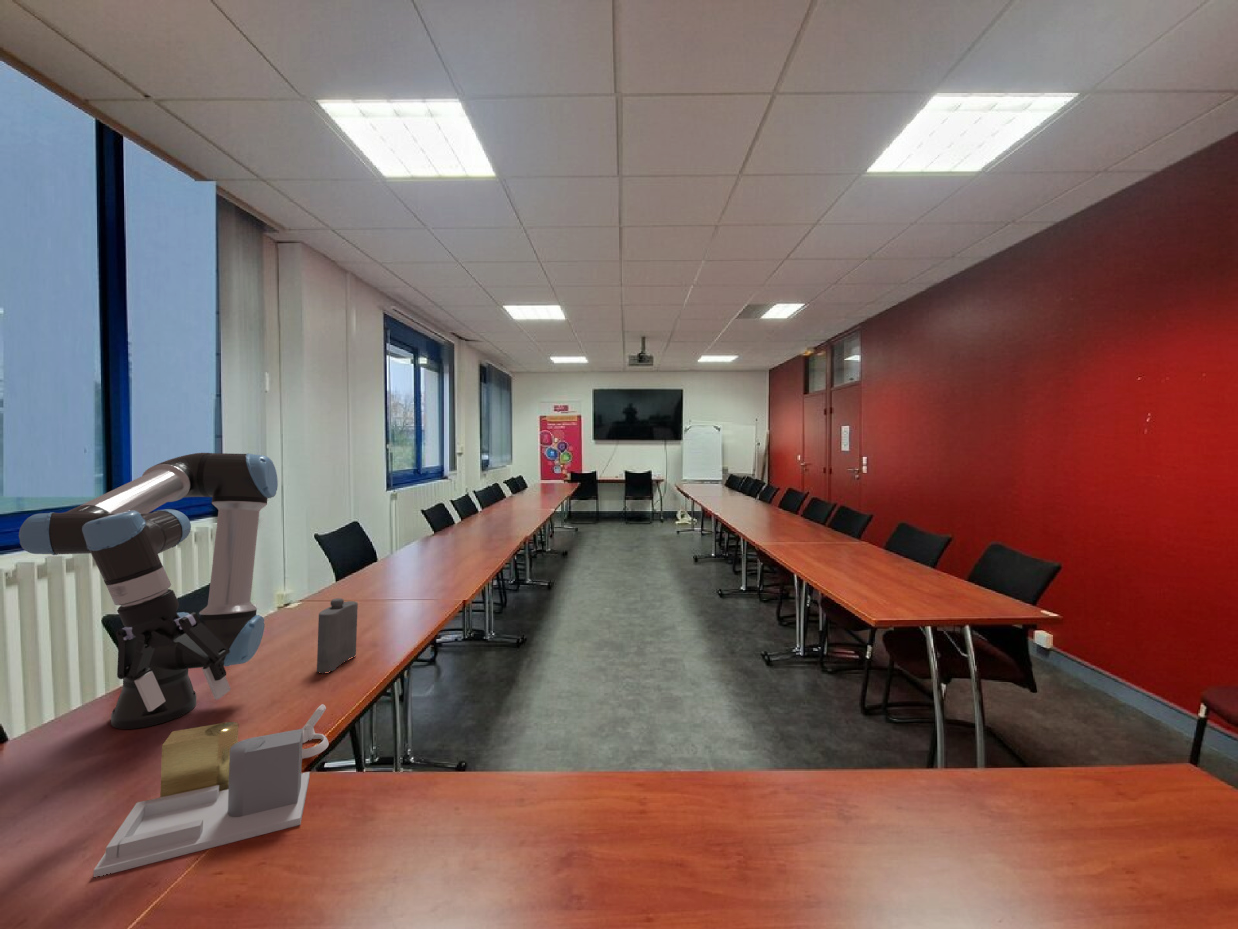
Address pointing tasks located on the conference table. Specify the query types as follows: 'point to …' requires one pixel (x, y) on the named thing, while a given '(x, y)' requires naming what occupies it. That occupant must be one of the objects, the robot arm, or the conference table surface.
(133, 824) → the hinge base
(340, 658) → the flask
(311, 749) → the hook
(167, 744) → the block
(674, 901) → the conference table surface
